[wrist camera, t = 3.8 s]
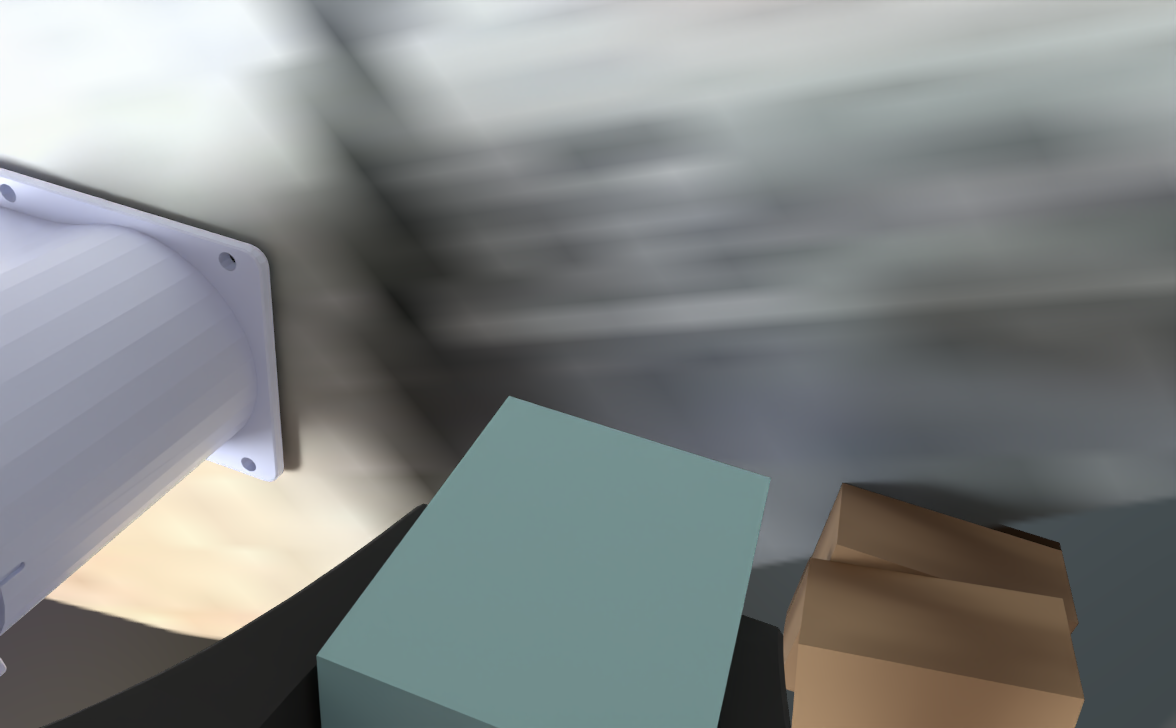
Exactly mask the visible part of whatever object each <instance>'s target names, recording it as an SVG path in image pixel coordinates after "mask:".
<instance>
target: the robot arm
mask: <svg viewBox="0 0 1176 728" xmlns="http://www.w3.org/2000/svg"><path fill="white" fill-rule="evenodd" d="M229 254H230V255H231V256H232V257H233V258H234V259H235V262H236V263H234V262H233V261H232V259H231V258H230V256H229ZM205 460H209V461H212V462H215V463H217V464H220V465H223V466H225V467H228V468H231V469H234V470H236V471H239V472H242V473H245V474H247V475H250V476H253V477H256V478H258V479H261V480H264V481H269V482H271V481H275V480H276V479H277V478H278V477H279V476H280V475H281V474H282V473H283V471H284V461H283V447H282V434H281V420H280V406H279V393H278V379H277V366H276V352H275V339H274V325H273V311H272V298H271V284H270V271H269V264H268V260H267V258H266V256H265V255H264V253H263V252H262V251H261V250H260V249H259V248H257V247H255V246H253V245H251V244H248V243H245V242H242V241H238V240H235V239H232V238H229V237H225V236H222V235H219V234H216V233H212V232H209V231H206V230H203V229H199V228H196V227H193V226H189V225H186V224H183V223H180V222H176V221H173V220H170V219H167V218H163V217H160V216H157V215H153V214H150V213H147V212H144V211H140V210H137V209H134V208H131V207H127V206H124V205H121V204H117V203H114V202H111V201H108V200H104V199H101V198H98V197H95V196H91V195H88V194H85V193H82V192H78V191H75V190H72V189H68V188H65V187H62V186H59V185H55V184H52V183H49V182H46V181H42V180H39V179H36V178H32V177H29V176H26V175H23V174H19V173H16V172H13V171H10V170H6V169H3V168H0V636H1V635H2V634H3V633H4V632H5V631H6V630H7V629H9V628H10V627H11V626H12V625H13V624H14V623H16V622H17V621H18V620H19V619H20V618H22V617H23V616H24V615H25V614H26V613H27V612H29V610H31V609H32V608H33V607H34V606H35V605H37V604H38V603H39V602H40V601H41V600H43V599H44V598H45V597H46V596H47V595H48V594H50V593H51V592H52V591H53V590H54V589H55V588H57V587H58V586H59V585H60V584H61V583H62V582H64V581H65V580H66V579H67V578H68V577H69V576H71V575H72V574H73V573H74V572H75V571H76V570H78V569H79V568H80V567H81V566H82V565H83V564H85V563H86V562H87V561H88V560H89V559H90V558H92V557H93V556H94V555H95V554H96V553H97V552H99V551H100V550H101V549H102V548H103V547H104V546H105V545H107V544H108V543H109V542H110V541H111V540H112V539H114V538H115V537H116V536H117V535H118V534H119V533H121V532H122V531H123V530H124V529H125V528H126V527H128V526H129V525H130V524H131V523H132V522H133V521H135V520H136V519H137V518H138V517H139V516H140V515H142V514H143V513H144V512H145V511H146V510H147V509H149V508H150V507H151V506H152V505H153V504H154V503H156V502H157V501H158V500H159V499H160V498H161V497H163V496H164V495H165V494H166V493H167V492H168V491H170V490H171V489H172V488H173V487H174V486H175V485H177V484H178V483H179V482H180V481H181V480H182V479H184V478H185V477H186V476H187V475H188V474H189V473H191V472H192V471H193V470H194V469H195V468H196V467H198V466H199V465H200V464H201V463H202V462H203V461H205ZM427 506H428V505H427V504H422V505H420V506H417V507H416V508H415V509H413V510H412V511H411V512H409V513H408V514H407V515H405V516H404V517H403V518H401V519H400V520H399V521H397V522H396V523H395V524H394V525H392V526H391V527H390V528H388V529H387V530H386V531H384V532H383V533H382V534H380V535H379V536H378V537H376V538H375V539H373V540H372V541H371V542H369V543H368V544H367V545H365V546H364V547H363V548H361V549H360V550H358V551H357V552H356V553H354V554H353V555H351V556H350V557H349V558H347V559H346V560H345V561H343V562H342V563H340V564H339V565H337V566H336V567H334V568H333V569H331V570H330V571H329V572H327V573H326V574H324V575H323V576H321V577H320V578H318V579H317V580H315V581H314V582H312V583H311V584H310V585H308V586H307V587H305V588H304V589H302V590H301V591H299V592H298V593H296V594H295V595H293V596H292V597H290V598H289V599H287V600H286V601H284V602H282V603H281V604H279V605H277V606H276V607H274V608H273V609H271V610H269V611H268V612H266V613H265V614H263V615H261V616H260V617H258V618H256V619H255V620H253V621H252V622H250V623H248V624H247V625H245V626H244V627H242V628H240V629H239V630H237V631H235V632H234V633H232V634H230V635H229V636H227V637H225V638H223V639H222V640H220V641H218V642H216V643H215V644H213V645H211V646H209V647H208V648H206V649H204V650H202V651H200V652H198V653H197V654H195V655H193V656H191V657H189V658H187V659H185V660H184V661H182V662H180V663H178V664H176V665H174V666H172V667H170V668H168V669H167V670H165V671H163V672H161V673H159V674H157V675H155V676H153V677H151V678H149V679H147V680H145V681H142V682H140V683H138V684H136V685H134V686H132V687H130V688H128V689H126V690H124V691H122V692H120V693H118V694H115V695H113V696H111V697H109V698H107V699H105V700H103V701H101V702H99V703H96V704H94V705H92V706H90V707H88V708H85V709H83V710H81V711H79V712H76V713H74V714H72V715H70V716H67V717H65V718H63V719H60V720H58V721H55V722H53V723H51V724H48V725H45V726H43V727H40V728H321V714H320V700H319V686H318V671H317V657H316V655H317V654H318V653H319V651H320V650H321V649H322V647H323V646H324V645H325V643H326V642H327V641H328V639H329V638H330V637H331V635H332V634H333V632H334V631H335V630H336V628H337V627H338V626H339V624H340V623H341V622H342V620H343V619H344V618H345V616H346V615H347V614H348V612H349V611H350V610H351V608H352V607H353V605H354V604H355V603H356V601H357V600H358V599H359V597H360V596H361V595H362V593H363V592H364V591H365V589H366V588H367V587H368V585H369V584H370V583H371V581H372V580H373V579H374V577H375V576H376V574H377V573H378V572H379V570H380V569H381V568H382V566H383V565H384V564H385V562H386V561H387V560H388V558H389V557H390V556H391V554H392V553H393V552H394V550H395V549H396V547H397V546H398V545H399V543H400V542H401V541H402V539H403V538H404V537H405V535H406V534H407V533H408V531H409V530H410V529H411V527H412V526H413V525H414V523H415V522H416V521H417V519H418V518H419V516H420V515H421V514H422V512H423V511H424V510H425V508H426V507H427ZM5 671H6V666H5V664H4V663H3V661H2V660H1V658H0V676H1V675H2V674H3V673H5ZM717 728H791V725H790V718H789V710H788V702H787V693H786V684H785V671H784V653H783V634H782V633H781V631H780V630H779V629H778V627H776V626H773V625H770V624H767V623H764V622H761V621H758V620H755V619H753V618H749V617H747V616H744V615H741V619H740V624H739V628H738V633H737V637H736V642H735V647H734V651H733V656H732V661H731V665H730V670H729V674H728V679H727V684H726V688H725V693H724V698H723V702H722V707H721V711H720V716H719V721H718V725H717Z"/></svg>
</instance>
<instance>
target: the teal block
mask: <svg viewBox="0 0 1176 728" xmlns="http://www.w3.org/2000/svg"><path fill="white" fill-rule="evenodd" d="M770 480H771V478H769V477H766V476H763V475H759V474H756V473H753V472H750V471H747V470H743V469H740V468H737V467H734V466H731V465H728V464H724V463H721V462H718V461H715V460H712V459H708V458H705V457H702V456H699V455H696V454H693V453H689V452H686V451H683V450H680V449H677V448H673V447H670V446H667V445H664V444H661V443H657V442H654V441H651V440H648V439H645V438H642V437H638V436H635V435H632V434H629V433H626V432H622V431H619V430H616V429H613V428H610V427H607V426H603V425H600V424H597V423H594V422H591V421H587V420H584V419H581V418H578V417H575V416H572V415H568V414H565V413H562V412H559V411H556V410H552V409H549V408H546V407H543V406H540V405H536V404H533V403H530V402H527V401H524V400H521V399H517V398H514V397H511V396H508V398H507V399H506V400H505V402H504V403H503V405H502V406H501V407H500V409H499V410H498V411H497V413H496V414H495V415H494V417H493V418H492V419H491V421H490V422H489V423H488V425H487V426H486V427H485V429H484V430H483V432H482V433H481V434H480V436H479V437H478V438H477V440H476V441H475V442H474V444H473V445H472V446H471V448H470V449H469V450H468V452H467V453H466V454H465V456H464V457H463V458H462V460H461V461H460V463H459V464H458V465H457V467H456V468H455V469H454V471H453V472H452V473H451V475H450V476H449V477H448V479H447V480H446V481H445V483H444V484H443V485H442V487H441V488H440V490H439V491H438V492H437V494H436V495H435V496H434V498H433V499H432V500H431V502H430V503H429V504H428V506H427V507H426V508H425V510H424V511H423V512H422V514H421V515H420V516H419V518H418V519H417V521H416V522H415V523H414V525H413V526H412V527H411V529H410V530H409V531H408V533H407V534H406V535H405V537H404V538H403V539H402V541H401V542H400V543H399V545H398V546H397V547H396V549H395V550H394V552H393V553H392V554H391V556H390V557H389V558H388V560H387V561H386V562H385V564H384V565H383V566H382V568H381V569H380V570H379V572H378V573H377V574H376V576H375V577H374V579H373V580H372V581H371V583H370V584H369V585H368V587H367V588H366V589H365V591H364V592H363V593H362V595H361V596H360V597H359V599H358V600H357V601H356V603H355V604H354V605H353V607H352V608H351V610H350V611H349V612H348V614H347V615H346V616H345V618H344V619H343V620H342V622H341V623H340V624H339V626H338V627H337V628H336V630H335V631H334V632H333V634H332V635H331V637H330V638H329V639H328V641H327V642H326V643H325V645H324V646H323V647H322V649H321V650H320V651H319V653H318V654H317V655H316V657H317V671H318V686H319V700H320V714H321V728H717V725H718V721H719V716H720V711H721V707H722V702H723V698H724V693H725V688H726V684H727V679H728V674H729V670H730V665H731V661H732V656H733V651H734V647H735V642H736V637H737V633H738V628H739V624H740V619H741V614H742V609H743V605H744V600H745V596H746V591H747V587H748V582H749V577H750V573H751V568H752V564H753V559H754V554H755V550H756V545H757V540H758V536H759V531H760V527H761V522H762V517H763V513H764V508H765V503H766V499H767V494H768V490H769V485H770Z"/></svg>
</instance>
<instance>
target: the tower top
mask: <svg viewBox="0 0 1176 728" xmlns="http://www.w3.org/2000/svg"><path fill="white" fill-rule="evenodd" d="M1083 702H1084V695H1083V691H1082V686H1081V681H1080V677H1079V672H1078V667H1077V663H1076V658H1075V653H1074V649H1073V644H1072V639H1071V635H1070V630H1069V626H1068V621H1067V616H1066V612H1065V607H1064V602H1063V599H1062V598H1056V597H1050V596H1044V595H1038V594H1032V593H1025V592H1019V591H1013V590H1007V589H1001V588H995V587H989V586H983V585H976V584H970V583H964V582H958V581H952V580H946V579H940V578H933V577H927V576H921V575H915V574H909V573H903V572H897V571H890V570H884V569H878V568H872V567H866V566H860V565H854V564H847V563H841V562H835V561H829V560H823V559H817V558H811V557H810V562H809V569H808V576H807V584H806V591H805V599H804V606H803V614H802V621H801V628H800V636H799V643H798V655H797V668H796V680H795V694H794V706H793V718H792V728H1075V725H1076V723H1077V720H1078V716H1079V714H1080V711H1081V708H1082V705H1083Z"/></svg>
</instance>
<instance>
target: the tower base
mask: <svg viewBox="0 0 1176 728" xmlns="http://www.w3.org/2000/svg"><path fill="white" fill-rule="evenodd" d="M811 558H817V559H823V560H829V561H835V562H841V563H847V564H854V565H860V566H866V567H872V568H878V569H884V570H890V571H897V572H903V573H909V574H915V575H921V576H927V577H933V578H940V579H946V580H952V581H958V582H964V583H970V584H976V585H983V586H989V587H995V588H1001V589H1007V590H1013V591H1019V592H1025V593H1032V594H1038V595H1044V596H1050V597H1056V598H1062V599H1063V602H1064V607H1065V612H1066V616H1067V621H1068V626H1069V630H1070V635H1071V633H1072V632H1073V630H1074V629H1075V627H1076V626H1077V625H1078V619H1077V615H1076V610H1075V606H1074V602H1073V597H1072V593H1071V589H1070V585H1069V580H1068V576H1067V572H1066V567H1065V563H1064V559H1063V555H1062V550H1061V546H1060V543H1059V542H1056V541H1053V540H1049V539H1046V538H1043V537H1040V536H1037V535H1034V534H1030V533H1027V532H1024V531H1021V530H1018V529H1014V528H1011V527H1008V526H1005V525H1002V526H993V527H989V528H987V527H983V526H980V525H977V524H974V523H971V522H967V521H964V520H961V519H958V518H954V517H951V516H948V515H945V514H942V513H938V512H935V511H932V510H929V509H926V508H922V507H919V506H916V505H913V504H910V503H906V502H903V501H900V500H897V499H894V498H890V497H887V496H884V495H881V494H878V493H874V492H871V491H868V490H865V489H861V488H858V487H855V486H852V485H849V484H845V483H842V486H841V488H840V490H839V493H838V495H837V498H836V500H835V502H834V505H833V507H832V510H831V512H830V514H829V517H828V519H827V522H826V524H825V526H824V529H823V531H822V534H821V536H820V538H819V541H818V543H817V545H816V548H815V550H814V553H813V555H812V557H811ZM809 562H810V558H809V560H808V562H807V565H806V567H805V569H804V572H803V574H802V576H801V579H800V581H799V584H798V586H797V589H796V591H795V593H794V596H793V598H792V601H791V603H790V605H789V608H788V610H787V615H786V621H785V628H784V634H783V653H784V671H785V684H786V689H788V690H791V691H794V692H795V680H796V668H797V655H798V643H799V636H800V628H801V621H802V614H803V606H804V599H805V591H806V584H807V576H808V569H809Z"/></svg>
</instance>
